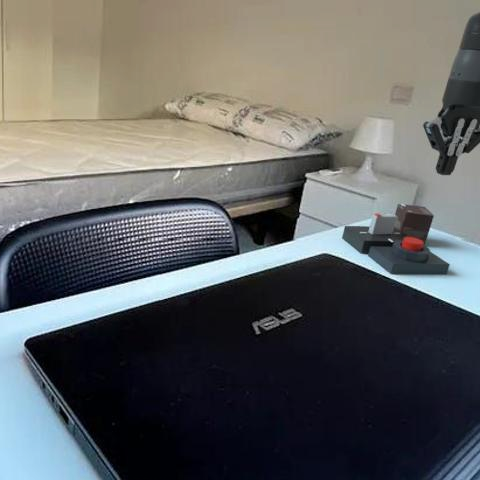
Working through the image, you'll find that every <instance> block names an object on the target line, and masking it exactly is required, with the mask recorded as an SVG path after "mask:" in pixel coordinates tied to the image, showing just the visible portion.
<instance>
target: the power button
mask: <svg viewBox="0 0 480 480" xmlns="http://www.w3.org/2000/svg"><path fill="white" fill-rule="evenodd" d="M423 244H424V242H423V241H422V240H420V239H417V238H413V237H405V238H404V239H403V242H402V247H403V248H406V249H408V250H412V251H421V250H422V247H423Z"/></svg>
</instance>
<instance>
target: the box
mask: <svg viewBox="0 0 480 480" xmlns="http://www.w3.org/2000/svg"><path fill="white" fill-rule="evenodd" d="M394 215H395V216H397V220H396V223H395V226H394V227H395V228H397V229H399V230H400V231H402V232H403V233H405V234H406V235H408V236H409V237H413V238H417V239H420V240H422V241H423V242H424V244H423V245H424V246H426V242H427V240H428V236H429V232H430V229H431V226H432V222H433V220H434V218H435V215H434V213H432V212H431V211H430V210H429V209H427V207H426V206H421V205H413V204H404V203H398V204H397V205H396V210H395V212H394Z"/></svg>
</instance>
